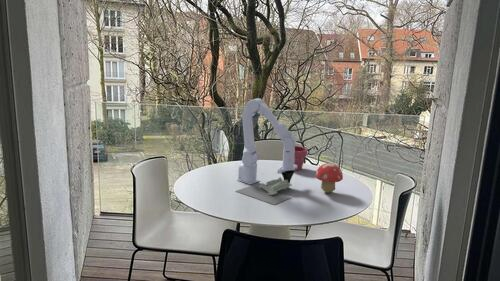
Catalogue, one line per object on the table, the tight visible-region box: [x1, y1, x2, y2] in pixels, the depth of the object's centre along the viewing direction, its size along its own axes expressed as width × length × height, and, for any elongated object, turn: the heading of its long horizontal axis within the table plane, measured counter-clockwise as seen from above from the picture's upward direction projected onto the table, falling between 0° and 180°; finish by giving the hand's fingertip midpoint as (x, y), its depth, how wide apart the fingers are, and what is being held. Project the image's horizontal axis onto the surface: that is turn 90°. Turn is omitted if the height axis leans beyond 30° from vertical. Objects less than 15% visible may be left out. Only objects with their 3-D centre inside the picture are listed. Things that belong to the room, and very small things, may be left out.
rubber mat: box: [235, 184, 292, 206], centre depth 180 cm, size 24×13×1 cm, turn 49°
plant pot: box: [282, 145, 308, 172], centre depth 225 cm, size 14×14×13 cm
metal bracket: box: [258, 176, 293, 195], centre depth 187 cm, size 14×6×15 cm
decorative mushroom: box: [315, 162, 344, 194], centre depth 185 cm, size 13×13×15 cm
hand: (286, 184), depth 193 cm, fingers closed
